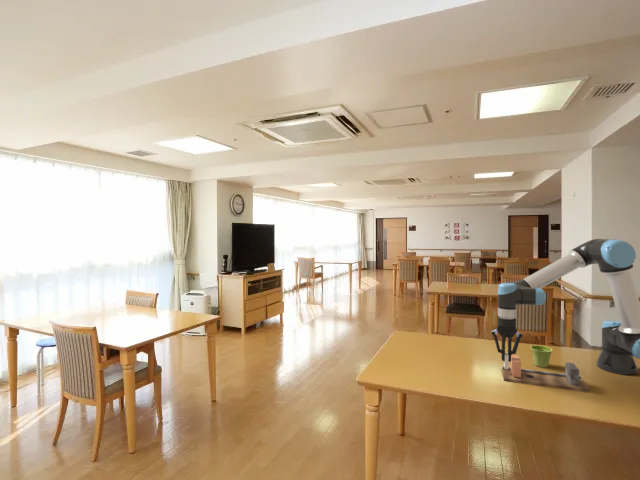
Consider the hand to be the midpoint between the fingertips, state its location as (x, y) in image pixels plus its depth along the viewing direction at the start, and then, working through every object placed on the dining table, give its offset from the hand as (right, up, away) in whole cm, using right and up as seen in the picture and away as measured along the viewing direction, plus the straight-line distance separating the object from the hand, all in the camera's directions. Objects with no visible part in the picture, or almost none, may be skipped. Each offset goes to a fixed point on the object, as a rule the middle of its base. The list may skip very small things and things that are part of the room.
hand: (506, 367), depth 166 cm
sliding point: (+4, -2, -1) cm, 4 cm away
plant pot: (+24, -3, +12) cm, 27 cm away
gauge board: (+14, -4, -5) cm, 15 cm away
